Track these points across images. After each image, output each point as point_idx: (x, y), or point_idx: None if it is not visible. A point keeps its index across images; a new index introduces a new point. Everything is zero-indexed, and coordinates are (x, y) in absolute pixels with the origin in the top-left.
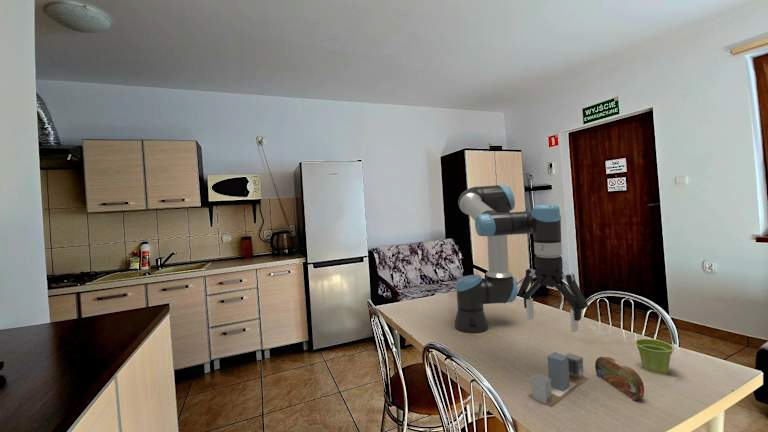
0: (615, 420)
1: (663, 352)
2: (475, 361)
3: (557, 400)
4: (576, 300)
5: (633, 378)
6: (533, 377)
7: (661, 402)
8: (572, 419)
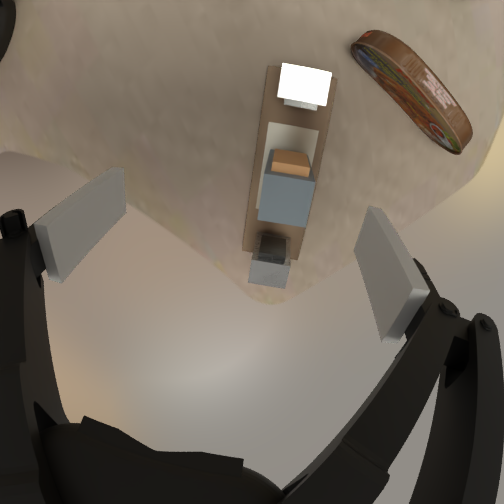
0: (401, 215)
1: None
2: (75, 169)
3: (300, 231)
4: (437, 401)
5: (461, 150)
6: (253, 281)
7: (467, 100)
8: (334, 255)
